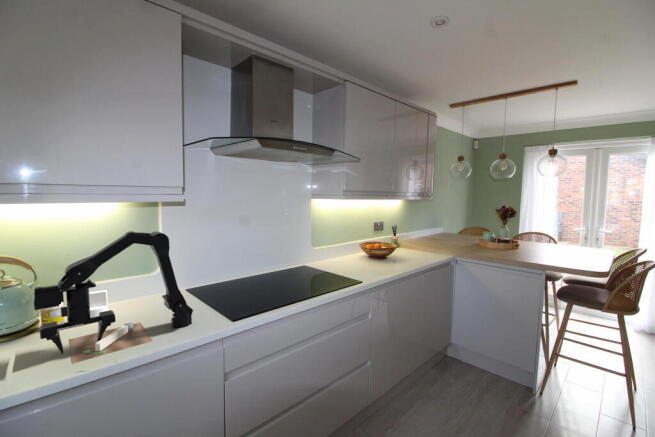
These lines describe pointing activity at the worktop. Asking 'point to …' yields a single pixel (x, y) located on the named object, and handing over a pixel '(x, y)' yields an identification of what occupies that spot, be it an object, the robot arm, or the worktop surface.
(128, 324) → the dial needle
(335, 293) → the worktop surface
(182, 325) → the robot arm
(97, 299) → the white open-front box
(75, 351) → the board
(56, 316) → the supplement bottle
